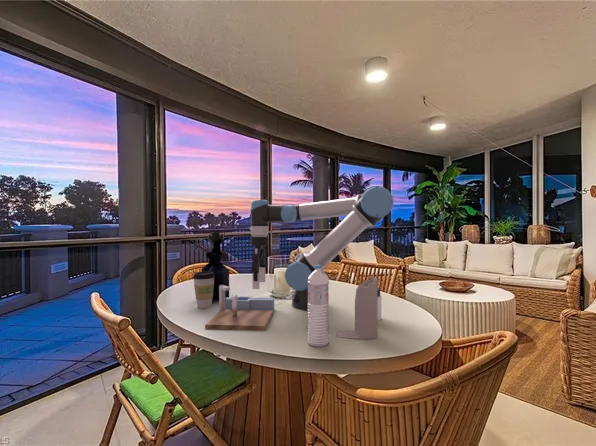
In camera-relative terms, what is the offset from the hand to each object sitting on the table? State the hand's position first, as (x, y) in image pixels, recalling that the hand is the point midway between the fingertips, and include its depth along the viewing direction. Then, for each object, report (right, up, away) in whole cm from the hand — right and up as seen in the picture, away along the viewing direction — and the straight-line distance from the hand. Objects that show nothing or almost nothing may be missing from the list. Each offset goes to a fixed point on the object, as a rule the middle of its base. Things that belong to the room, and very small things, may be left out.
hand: (259, 285), depth 138 cm
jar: (+45, -11, -11) cm, 48 cm away
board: (-5, -11, -13) cm, 18 cm away
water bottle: (+23, -12, -36) cm, 44 cm away
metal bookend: (+37, -12, -29) cm, 48 cm away
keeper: (-13, -11, -7) cm, 18 cm away
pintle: (-8, -11, -12) cm, 18 cm away
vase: (-24, -11, +20) cm, 33 cm away
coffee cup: (-26, -11, +7) cm, 29 cm away
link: (-4, -11, +1) cm, 12 cm away
